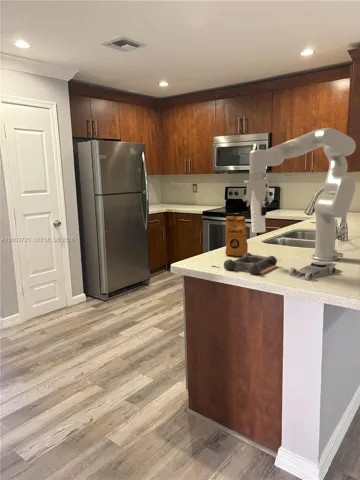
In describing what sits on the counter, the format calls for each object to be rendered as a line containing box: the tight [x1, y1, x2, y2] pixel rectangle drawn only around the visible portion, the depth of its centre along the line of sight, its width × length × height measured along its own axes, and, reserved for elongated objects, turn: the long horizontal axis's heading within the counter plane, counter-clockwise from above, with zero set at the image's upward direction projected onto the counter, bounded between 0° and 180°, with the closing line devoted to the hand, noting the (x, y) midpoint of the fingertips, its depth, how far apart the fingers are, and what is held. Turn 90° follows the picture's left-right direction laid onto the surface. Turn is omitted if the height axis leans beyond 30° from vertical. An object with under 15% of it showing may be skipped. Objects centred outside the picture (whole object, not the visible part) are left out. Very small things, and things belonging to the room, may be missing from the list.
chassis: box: [223, 252, 278, 276], centre depth 168 cm, size 20×19×5 cm
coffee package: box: [224, 215, 249, 257], centre depth 195 cm, size 10×12×22 cm
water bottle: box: [243, 179, 267, 234], centre depth 168 cm, size 9×6×25 cm
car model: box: [288, 260, 338, 281], centre depth 156 cm, size 11×24×5 cm, turn 122°
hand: (256, 214), depth 168 cm, fingers closed on water bottle, 6 cm apart
